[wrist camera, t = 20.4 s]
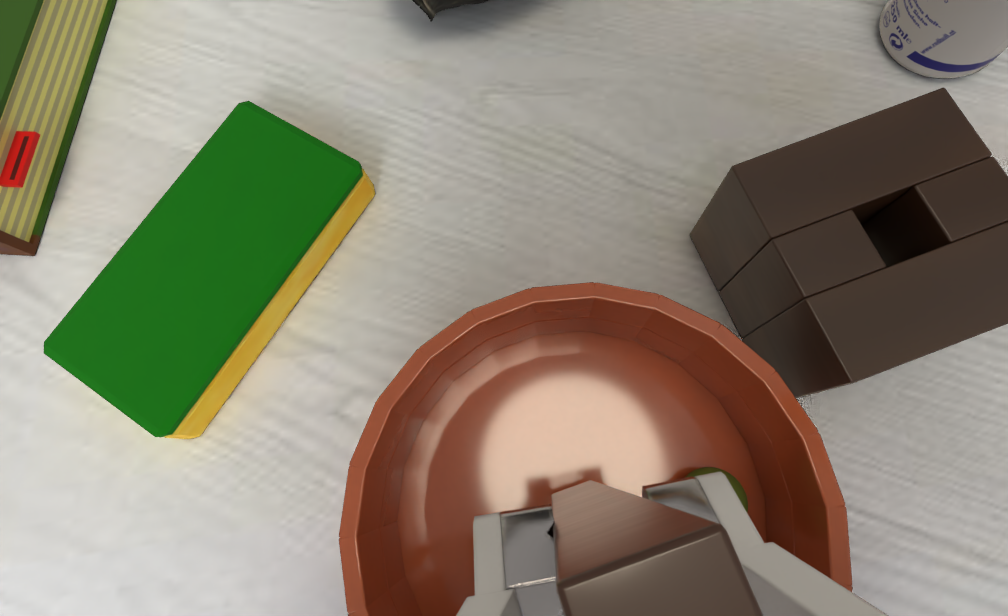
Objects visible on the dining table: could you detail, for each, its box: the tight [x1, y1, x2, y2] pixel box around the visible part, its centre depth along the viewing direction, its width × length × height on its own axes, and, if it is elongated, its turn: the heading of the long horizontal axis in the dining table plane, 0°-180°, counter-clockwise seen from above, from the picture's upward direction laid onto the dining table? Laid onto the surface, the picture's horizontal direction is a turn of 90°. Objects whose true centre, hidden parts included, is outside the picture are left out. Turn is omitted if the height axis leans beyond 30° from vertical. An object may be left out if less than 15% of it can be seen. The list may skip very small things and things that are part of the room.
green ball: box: [685, 467, 748, 512], centre depth 20 cm, size 2×2×2 cm
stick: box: [551, 480, 764, 616], centre depth 12 cm, size 2×2×16 cm
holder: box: [690, 88, 1008, 398], centre depth 21 cm, size 8×8×6 cm
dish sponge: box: [44, 101, 375, 439], centre depth 25 cm, size 7×14×2 cm, turn 148°
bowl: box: [339, 282, 853, 616], centre depth 20 cm, size 15×15×6 cm
